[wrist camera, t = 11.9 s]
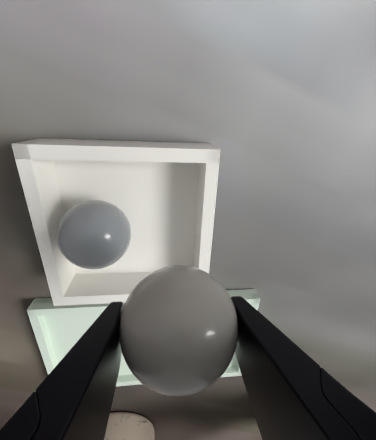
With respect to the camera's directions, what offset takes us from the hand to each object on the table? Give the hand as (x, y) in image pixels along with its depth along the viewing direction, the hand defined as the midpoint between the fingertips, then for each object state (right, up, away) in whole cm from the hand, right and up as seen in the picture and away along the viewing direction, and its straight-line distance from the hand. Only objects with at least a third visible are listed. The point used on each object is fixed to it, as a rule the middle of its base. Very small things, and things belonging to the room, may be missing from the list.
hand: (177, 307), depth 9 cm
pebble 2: (0, 0, +1) cm, 1 cm away
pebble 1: (-5, +3, +6) cm, 9 cm away
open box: (-3, +4, +7) cm, 9 cm away
